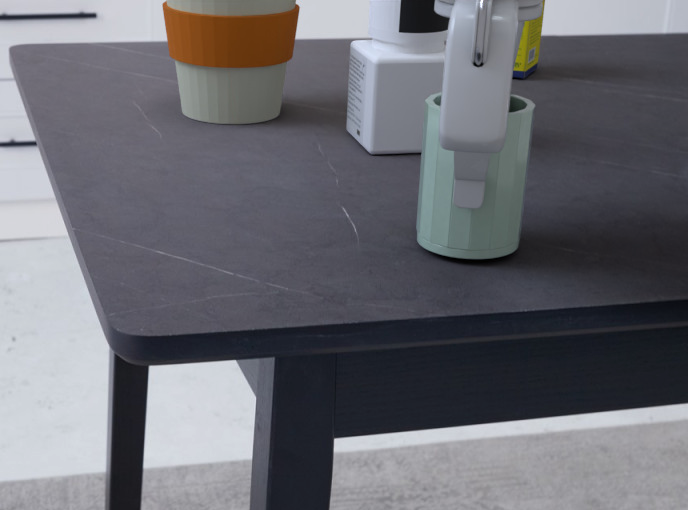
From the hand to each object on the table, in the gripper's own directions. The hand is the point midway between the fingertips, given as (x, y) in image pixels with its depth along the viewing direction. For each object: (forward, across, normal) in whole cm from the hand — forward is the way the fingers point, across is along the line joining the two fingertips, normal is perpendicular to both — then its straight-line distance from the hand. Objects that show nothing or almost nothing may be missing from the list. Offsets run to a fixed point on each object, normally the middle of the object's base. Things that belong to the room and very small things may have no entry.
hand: (471, 185), depth 73 cm
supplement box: (+4, +56, -1) cm, 56 cm away
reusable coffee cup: (+4, +30, +23) cm, 38 cm away
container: (+4, +25, +7) cm, 26 cm away
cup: (+4, 0, 0) cm, 4 cm away
